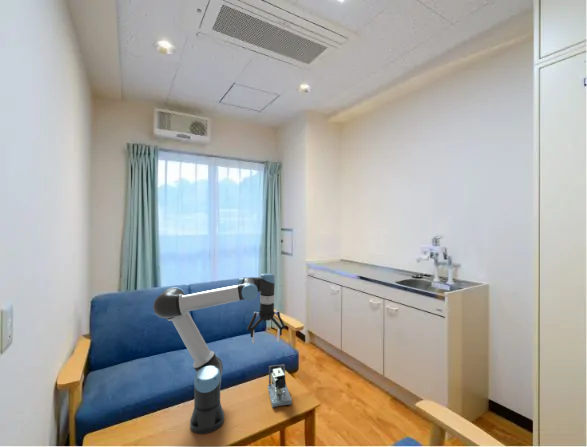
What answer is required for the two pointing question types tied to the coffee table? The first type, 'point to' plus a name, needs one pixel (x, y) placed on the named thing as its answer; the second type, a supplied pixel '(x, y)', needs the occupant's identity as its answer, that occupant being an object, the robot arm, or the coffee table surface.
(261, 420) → the coffee table surface
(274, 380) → the pneumatic valve
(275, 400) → the dolly
